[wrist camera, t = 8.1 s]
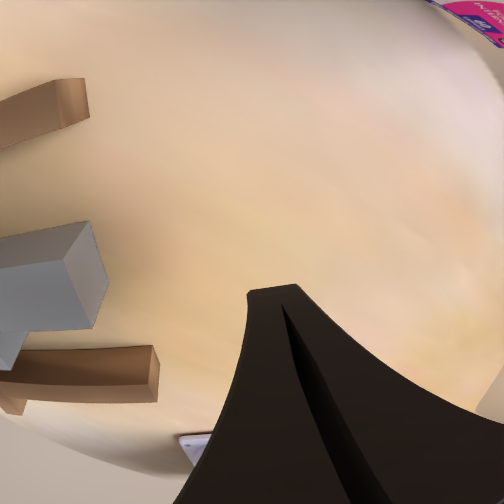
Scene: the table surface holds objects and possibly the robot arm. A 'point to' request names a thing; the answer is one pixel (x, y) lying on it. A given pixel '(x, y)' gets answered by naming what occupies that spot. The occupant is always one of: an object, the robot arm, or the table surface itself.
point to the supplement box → (478, 16)
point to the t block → (48, 284)
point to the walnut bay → (68, 361)
